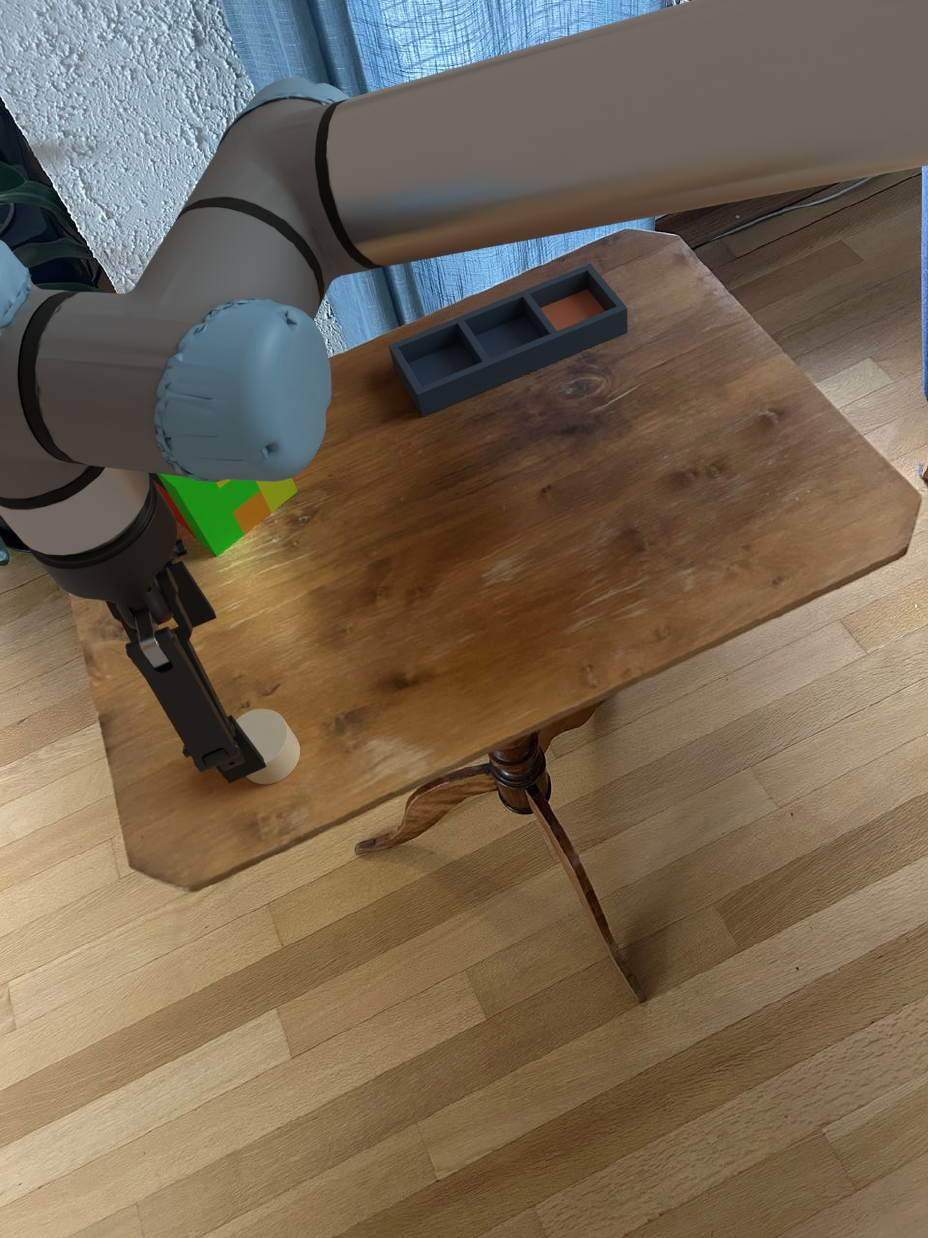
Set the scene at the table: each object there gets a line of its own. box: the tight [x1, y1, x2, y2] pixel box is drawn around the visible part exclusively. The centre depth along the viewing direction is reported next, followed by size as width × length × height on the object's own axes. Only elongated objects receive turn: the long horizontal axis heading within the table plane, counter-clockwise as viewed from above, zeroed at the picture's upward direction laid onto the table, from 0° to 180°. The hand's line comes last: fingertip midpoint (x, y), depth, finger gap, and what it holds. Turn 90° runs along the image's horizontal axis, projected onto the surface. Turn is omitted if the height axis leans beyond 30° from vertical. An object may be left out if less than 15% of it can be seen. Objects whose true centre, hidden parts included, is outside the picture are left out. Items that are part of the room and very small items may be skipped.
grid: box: [388, 263, 629, 418], centre depth 100 cm, size 8×23×3 cm, turn 113°
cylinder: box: [235, 708, 301, 785], centre depth 79 cm, size 5×5×4 cm
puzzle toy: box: [148, 473, 299, 557], centre depth 92 cm, size 10×10×10 cm
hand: (221, 692), depth 71 cm, fingers open, 13 cm apart
